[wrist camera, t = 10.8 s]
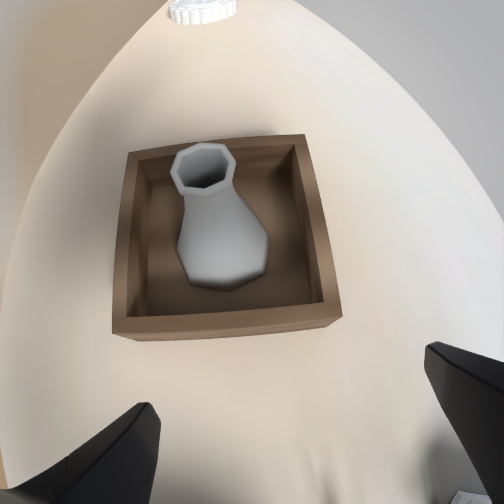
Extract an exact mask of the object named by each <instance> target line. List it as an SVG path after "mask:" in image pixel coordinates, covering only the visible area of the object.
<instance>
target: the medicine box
mask: <svg viewBox="0 0 504 504" xmlns="http://www.w3.org/2000/svg"><path fill="white" fill-rule="evenodd" d="M450 504H492V503H491V500H490V498H489V496H488V495H482V494H474V493H468V492H463V491H457V493H456V495H455V496H454V498H453V500H452V501H451V503H450Z"/></svg>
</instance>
